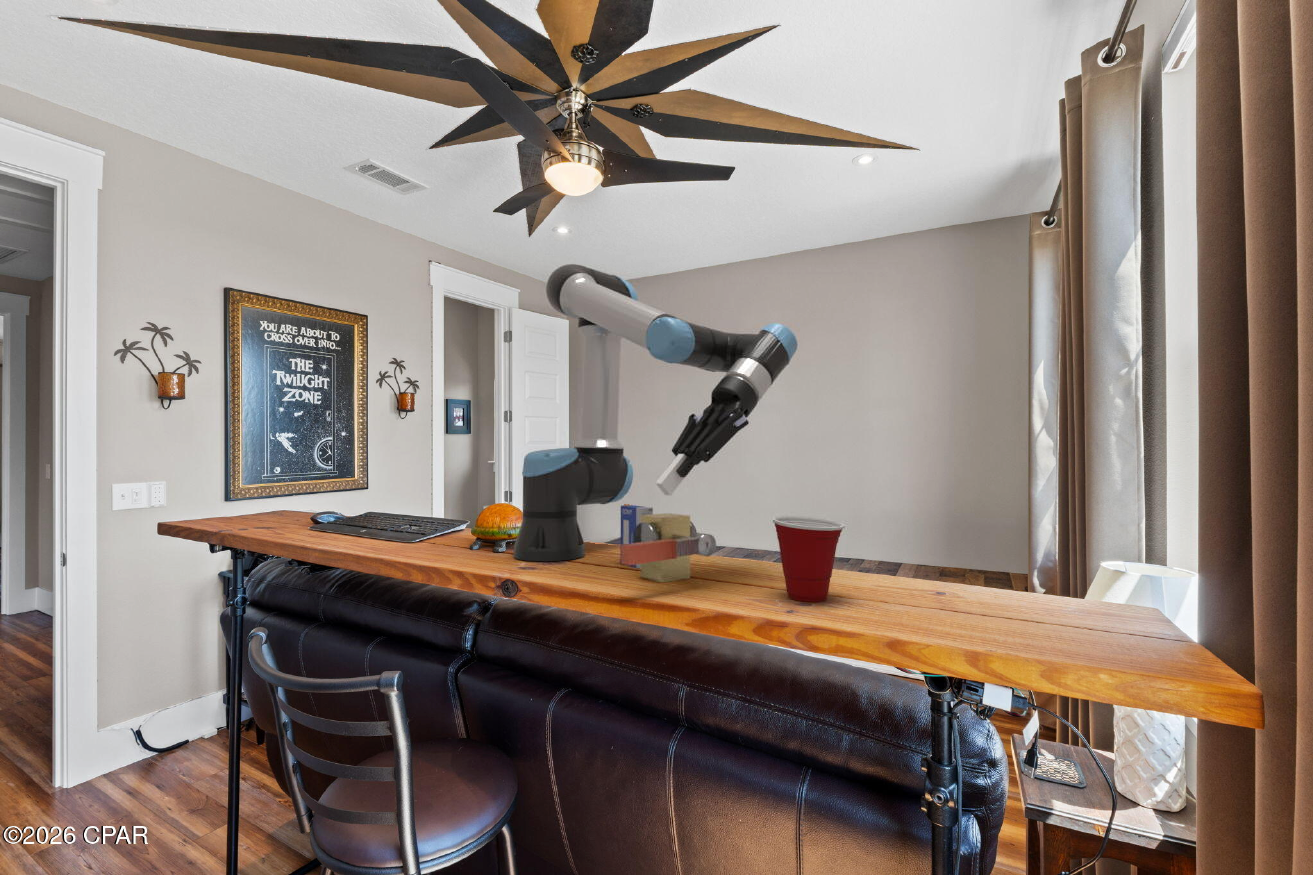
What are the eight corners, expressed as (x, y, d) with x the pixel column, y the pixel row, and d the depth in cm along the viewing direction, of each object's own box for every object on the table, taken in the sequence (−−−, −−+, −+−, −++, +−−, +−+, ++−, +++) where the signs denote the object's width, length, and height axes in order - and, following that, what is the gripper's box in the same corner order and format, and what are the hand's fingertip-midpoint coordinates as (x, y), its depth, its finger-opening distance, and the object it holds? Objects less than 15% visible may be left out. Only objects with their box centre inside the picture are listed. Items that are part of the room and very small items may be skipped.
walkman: (620, 563, 117) (620, 503, 117) (631, 561, 119) (632, 503, 119) (641, 569, 111) (641, 506, 111) (653, 567, 112) (653, 505, 113)
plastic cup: (825, 611, 80) (824, 524, 81) (758, 598, 87) (758, 518, 88) (858, 597, 88) (857, 518, 89) (794, 587, 95) (794, 514, 96)
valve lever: (706, 553, 97) (620, 565, 87) (706, 531, 97) (620, 541, 87) (716, 555, 95) (629, 568, 85) (715, 533, 95) (629, 543, 85)
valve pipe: (633, 578, 102) (633, 515, 103) (676, 571, 108) (676, 512, 109) (673, 589, 93) (673, 521, 94) (717, 581, 99) (717, 517, 100)
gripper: (779, 404, 97) (703, 509, 86) (725, 408, 107) (651, 502, 97) (757, 370, 94) (676, 474, 83) (704, 377, 104) (625, 471, 94)
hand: (663, 489), depth 90 cm, fingers closed
